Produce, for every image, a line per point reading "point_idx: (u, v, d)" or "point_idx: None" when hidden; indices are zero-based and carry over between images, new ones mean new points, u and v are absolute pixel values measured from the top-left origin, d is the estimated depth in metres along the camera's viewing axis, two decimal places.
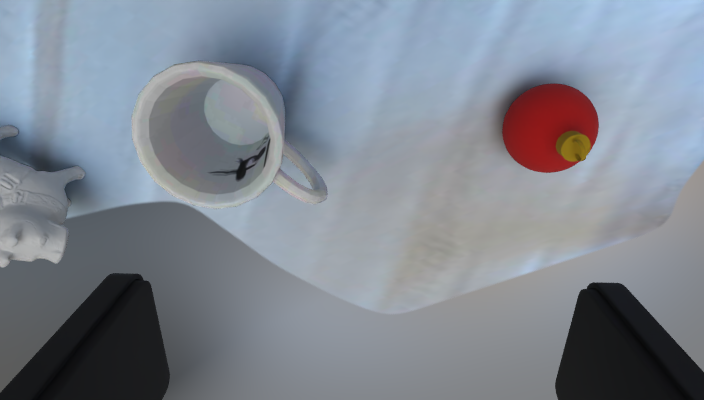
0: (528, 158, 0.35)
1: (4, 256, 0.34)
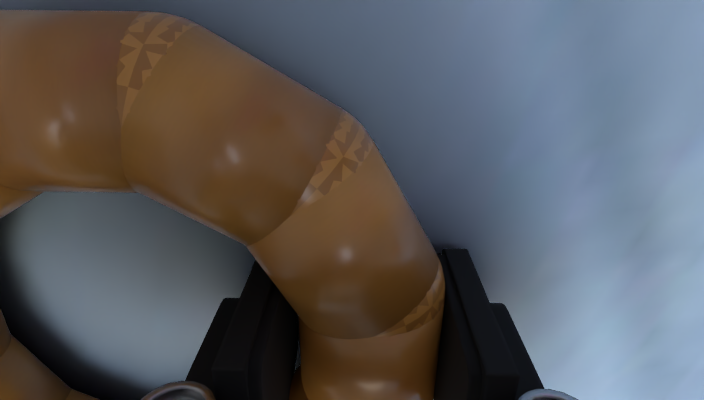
0: None
1: None
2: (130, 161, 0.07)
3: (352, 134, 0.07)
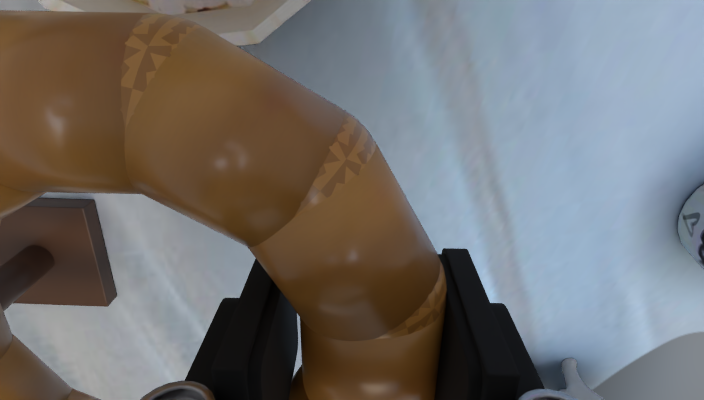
0: None
1: None
2: (133, 162, 0.07)
3: (355, 136, 0.07)
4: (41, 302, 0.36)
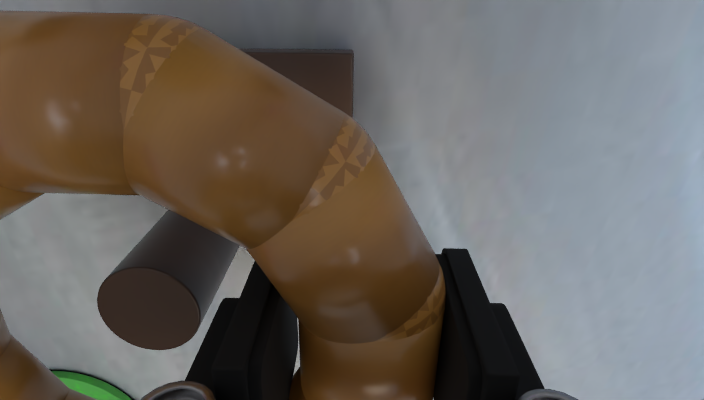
0: None
1: None
2: (131, 164, 0.07)
3: (354, 139, 0.07)
4: None
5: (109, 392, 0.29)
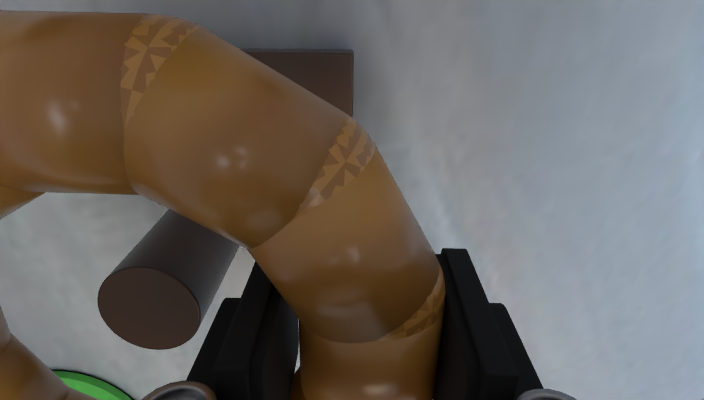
0: None
1: None
2: (132, 164, 0.07)
3: (354, 139, 0.07)
4: None
5: (109, 392, 0.29)
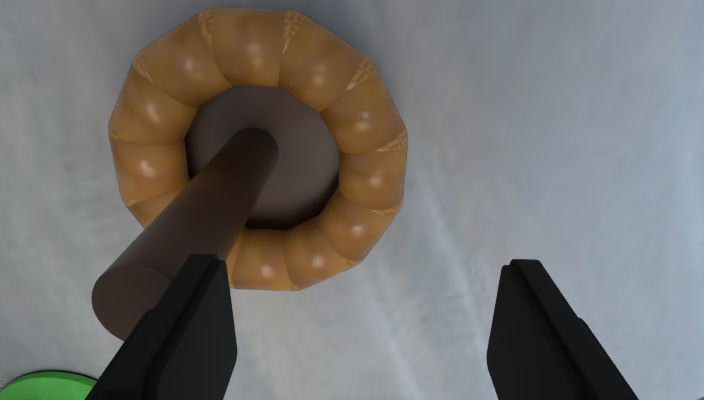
0: None
1: None
2: (283, 67, 0.17)
3: (368, 62, 0.18)
4: None
5: None
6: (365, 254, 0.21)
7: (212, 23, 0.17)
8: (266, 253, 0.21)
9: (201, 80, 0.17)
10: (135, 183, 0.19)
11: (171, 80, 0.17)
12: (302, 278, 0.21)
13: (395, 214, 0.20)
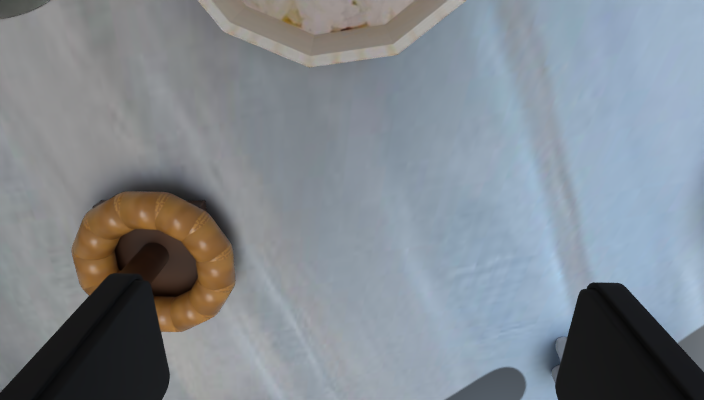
0: None
1: None
2: (156, 224, 0.34)
3: (202, 218, 0.35)
4: None
5: None
6: (215, 311, 0.38)
7: (120, 204, 0.34)
8: (160, 312, 0.38)
9: (116, 230, 0.34)
10: (86, 278, 0.36)
11: (101, 230, 0.34)
12: (181, 325, 0.38)
13: (228, 290, 0.37)
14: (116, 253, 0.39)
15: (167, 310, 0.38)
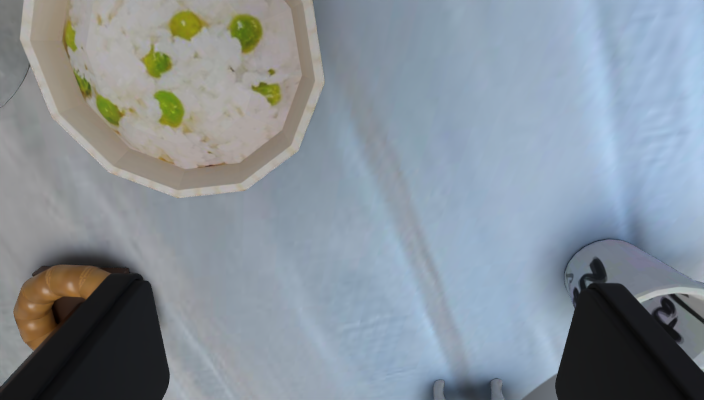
0: None
1: None
2: (80, 294, 0.41)
3: None
4: None
5: None
6: None
7: (50, 278, 0.41)
8: None
9: (48, 298, 0.42)
10: (26, 334, 0.44)
11: (35, 298, 0.42)
12: None
13: None
14: (54, 310, 0.46)
15: None
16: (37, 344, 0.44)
